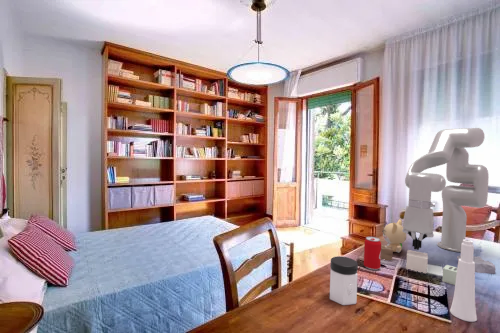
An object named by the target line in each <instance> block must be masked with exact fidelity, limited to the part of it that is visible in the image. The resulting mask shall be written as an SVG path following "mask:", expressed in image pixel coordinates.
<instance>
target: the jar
mask: <svg viewBox="0 0 500 333" xmlns="http://www.w3.org/2000/svg"><path fill="white" fill-rule="evenodd" d="M358 270H359V264H358V262H357V261H356V260H355V259H353V258H351V257H346V256H339V255H338V256H334V257H332V258H330V275H329V277H330V278H329V281H330V282H329V300H330V301H333V302H335V303H337V304H339V305H341V306H349V305H356V304H357V296H358V295H357V294H358Z"/></svg>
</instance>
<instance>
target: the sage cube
mask: <svg viewBox="0 0 500 333" xmlns="http://www.w3.org/2000/svg"><path fill="white" fill-rule="evenodd" d="M457 267H458V266H457ZM457 267H456V266H453V265H449V264H446V265H445V266H444V267H442V282H444V283H447V284H448V285H449V284H450V285H454V286H455V284H456V275H457Z"/></svg>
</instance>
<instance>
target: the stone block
mask: <svg viewBox="0 0 500 333" xmlns="http://www.w3.org/2000/svg"><path fill="white" fill-rule="evenodd" d="M460 258H461V254H460V255H457V256H456V260H459V259H460ZM473 262H475V273H477V274H478V273H479V274H492V275H495V274H496V271H497V270H496V269H497V268H496V265H495V264H494V263H493V262H492V261H489V260H485V259H483V258H482V256H476V255H473Z"/></svg>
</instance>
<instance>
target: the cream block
mask: <svg viewBox="0 0 500 333" xmlns="http://www.w3.org/2000/svg"><path fill="white" fill-rule="evenodd" d="M428 260H429V256H428V253H427V252H420V251H418V250H416V251H415V250H410V249H407V251H406V265H405V267H406V268H405V269H406V270H408V269H411V270H410V271H412V270H415V271H414V272H417V271H418V273H421V272H423V273H422V274H426V273H427V274H428Z"/></svg>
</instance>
